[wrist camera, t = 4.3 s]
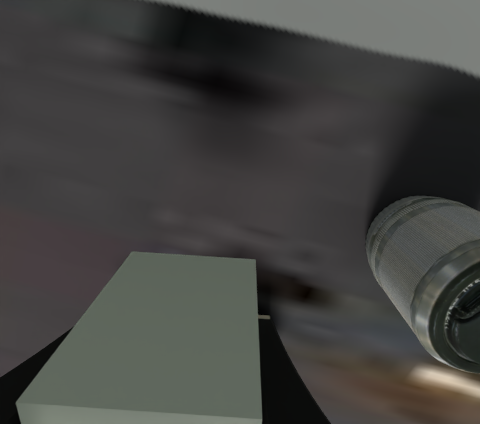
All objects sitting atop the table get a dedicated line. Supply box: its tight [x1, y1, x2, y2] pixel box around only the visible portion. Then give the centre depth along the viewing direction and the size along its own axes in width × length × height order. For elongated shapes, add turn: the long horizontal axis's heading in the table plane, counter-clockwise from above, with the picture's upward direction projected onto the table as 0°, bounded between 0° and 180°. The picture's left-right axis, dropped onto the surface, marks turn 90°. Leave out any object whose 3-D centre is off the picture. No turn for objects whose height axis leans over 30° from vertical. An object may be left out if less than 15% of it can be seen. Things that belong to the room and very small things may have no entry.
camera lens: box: [365, 196, 480, 373], centre depth 15 cm, size 6×6×8 cm
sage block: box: [16, 252, 262, 424], centre depth 9 cm, size 4×4×6 cm
